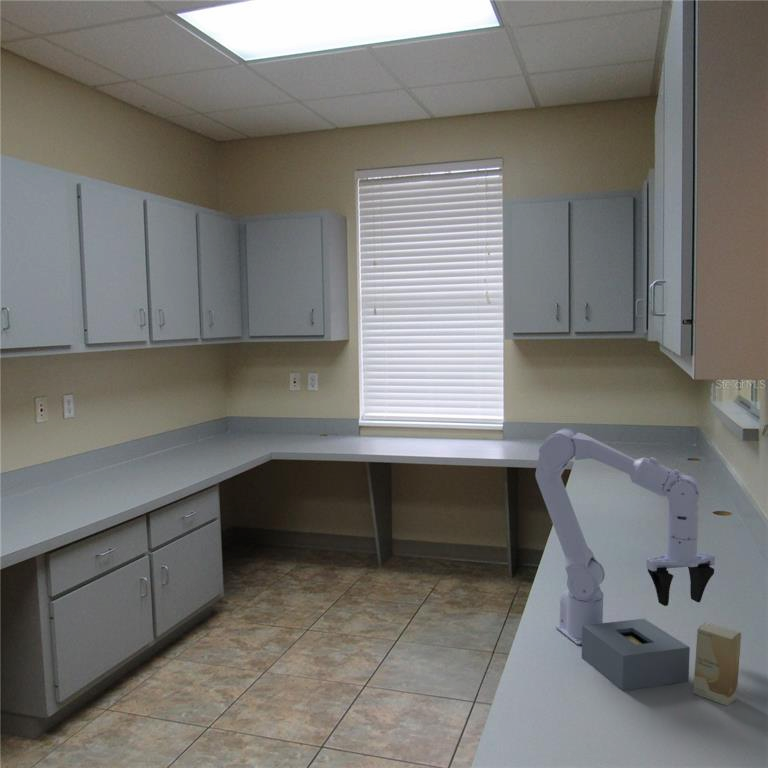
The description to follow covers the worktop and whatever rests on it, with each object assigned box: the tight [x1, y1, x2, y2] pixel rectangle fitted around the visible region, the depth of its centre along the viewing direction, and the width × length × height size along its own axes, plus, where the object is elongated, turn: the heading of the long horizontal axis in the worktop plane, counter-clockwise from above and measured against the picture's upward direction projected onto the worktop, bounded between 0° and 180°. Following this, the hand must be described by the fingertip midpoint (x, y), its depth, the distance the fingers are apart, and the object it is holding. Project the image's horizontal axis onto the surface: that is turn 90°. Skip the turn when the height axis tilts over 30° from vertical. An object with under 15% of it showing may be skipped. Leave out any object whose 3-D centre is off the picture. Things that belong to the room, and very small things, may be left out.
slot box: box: [581, 618, 691, 691], centre depth 141 cm, size 14×14×6 cm
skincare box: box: [692, 622, 742, 707], centre depth 130 cm, size 6×4×12 cm
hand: (679, 602), depth 148 cm, fingers open, 7 cm apart
